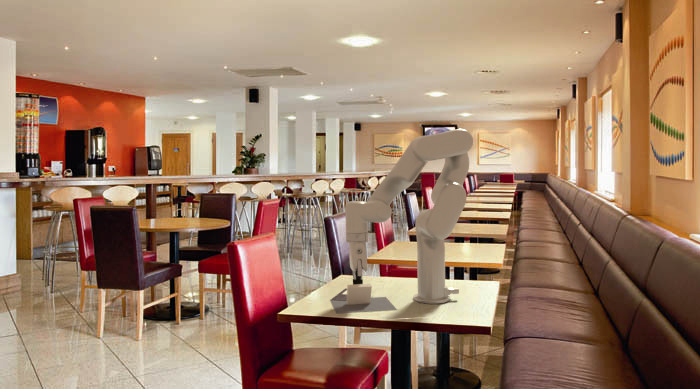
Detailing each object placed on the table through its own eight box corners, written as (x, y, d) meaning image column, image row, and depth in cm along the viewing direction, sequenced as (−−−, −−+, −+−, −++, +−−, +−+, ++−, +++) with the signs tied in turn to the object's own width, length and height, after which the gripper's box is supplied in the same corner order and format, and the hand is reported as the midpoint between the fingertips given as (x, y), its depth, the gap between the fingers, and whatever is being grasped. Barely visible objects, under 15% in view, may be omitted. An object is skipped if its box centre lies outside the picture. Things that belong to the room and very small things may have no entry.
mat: (385, 297, 200) (385, 296, 199) (397, 311, 182) (397, 309, 182) (329, 301, 197) (329, 299, 197) (336, 314, 179) (336, 313, 179)
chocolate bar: (330, 299, 196) (345, 288, 214) (330, 302, 196) (345, 290, 214) (355, 301, 194) (368, 289, 211) (355, 303, 194) (368, 292, 211)
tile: (369, 300, 192) (370, 283, 189) (370, 303, 191) (371, 286, 188) (346, 301, 191) (347, 284, 188) (347, 304, 190) (348, 287, 187)
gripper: (371, 240, 184) (372, 295, 185) (364, 234, 198) (365, 285, 199) (348, 240, 183) (349, 296, 184) (343, 235, 197) (344, 286, 198)
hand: (357, 290), depth 192 cm, fingers closed
